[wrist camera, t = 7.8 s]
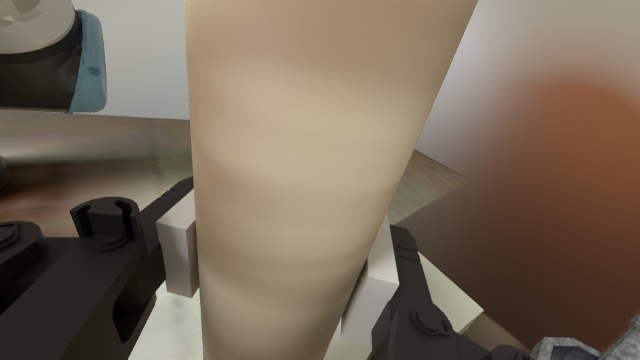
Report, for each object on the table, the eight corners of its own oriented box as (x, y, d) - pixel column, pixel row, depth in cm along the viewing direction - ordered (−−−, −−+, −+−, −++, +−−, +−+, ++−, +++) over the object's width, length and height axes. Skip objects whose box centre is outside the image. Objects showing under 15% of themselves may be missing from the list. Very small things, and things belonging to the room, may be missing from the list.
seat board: (245, 239, 33) (246, 216, 31) (348, 213, 43) (354, 194, 41) (340, 441, 18) (354, 420, 16) (465, 331, 28) (483, 310, 26)
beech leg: (198, 375, 13) (158, -109, 4) (278, 335, 16) (359, -22, 7) (220, 495, 10) (244, -372, 1) (316, 421, 13) (558, -28, 4)
